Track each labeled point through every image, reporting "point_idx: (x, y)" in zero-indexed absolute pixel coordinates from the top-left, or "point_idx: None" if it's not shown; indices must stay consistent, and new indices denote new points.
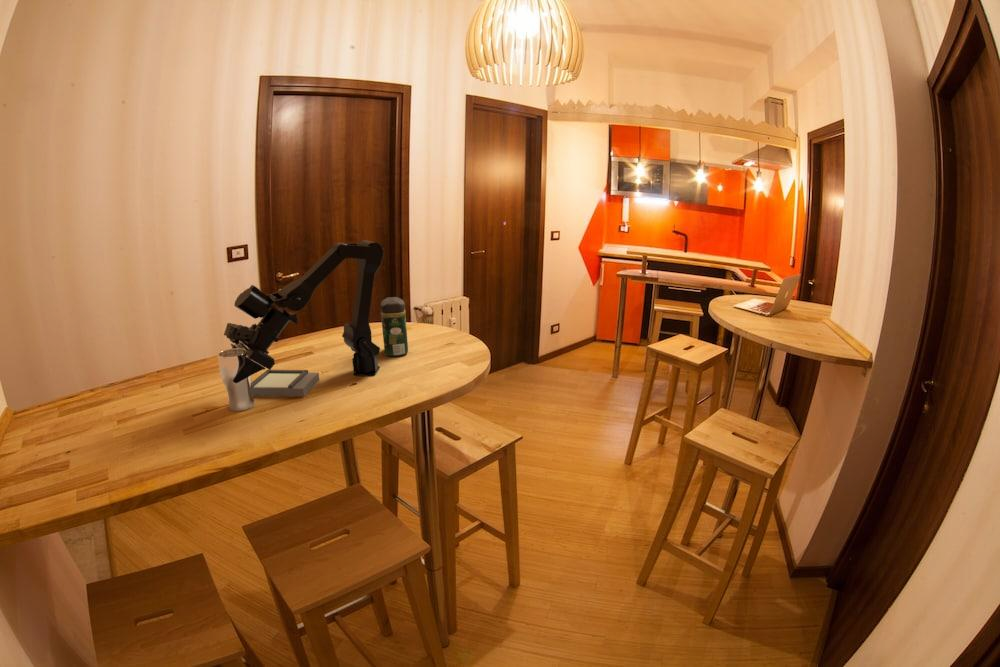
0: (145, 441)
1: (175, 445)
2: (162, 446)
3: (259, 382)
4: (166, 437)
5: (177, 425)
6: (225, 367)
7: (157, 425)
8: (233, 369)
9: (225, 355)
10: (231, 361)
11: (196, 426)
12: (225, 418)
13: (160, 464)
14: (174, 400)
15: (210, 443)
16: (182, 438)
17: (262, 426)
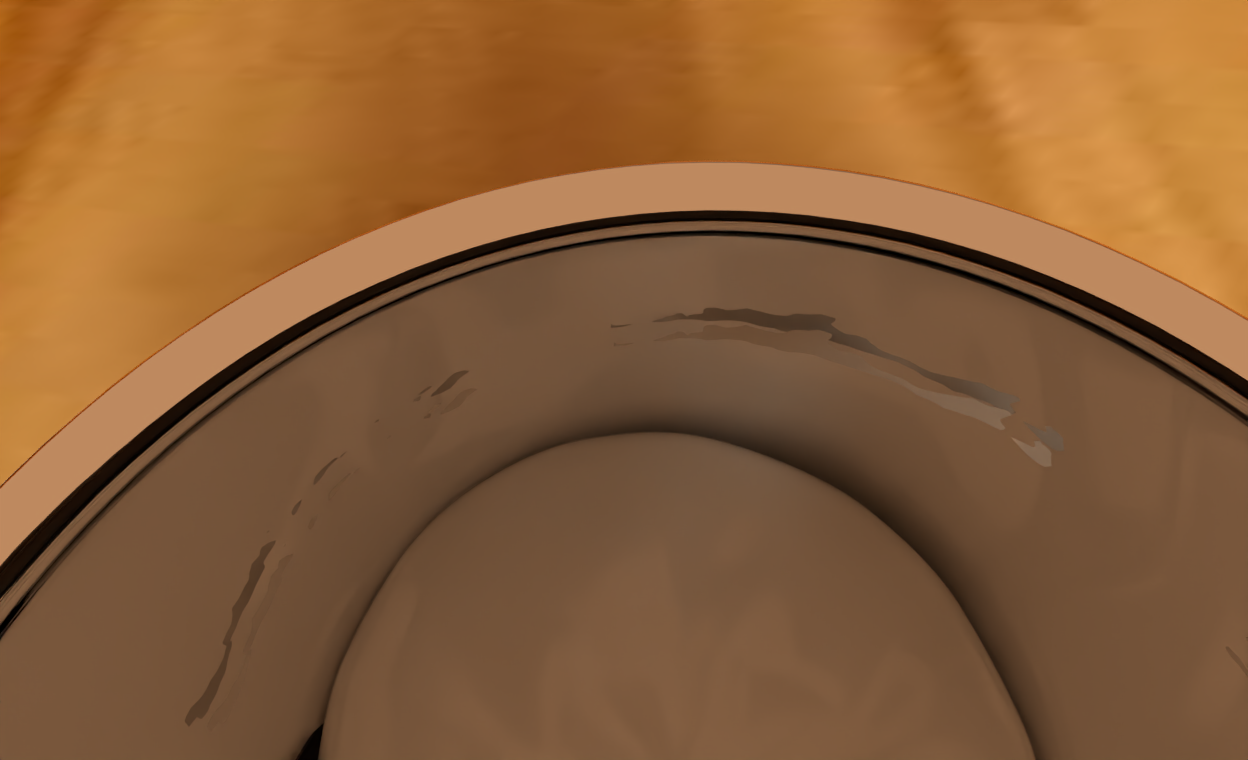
0: (492, 34)
1: (294, 147)
2: (344, 94)
3: None
4: (457, 120)
5: None
6: (379, 471)
7: (690, 97)
8: (267, 673)
9: (1239, 640)
10: (81, 685)
11: None
12: None
13: (121, 69)
14: (1117, 219)
15: (126, 315)
16: (362, 188)
17: None
